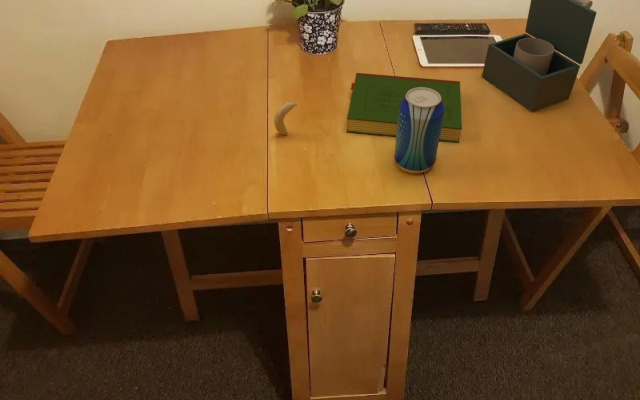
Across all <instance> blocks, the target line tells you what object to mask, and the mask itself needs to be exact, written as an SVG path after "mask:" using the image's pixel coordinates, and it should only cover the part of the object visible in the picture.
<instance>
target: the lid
mask: <svg viewBox="0 0 640 400" xmlns="http://www.w3.org/2000/svg"><path fill="white" fill-rule="evenodd" d="M593 4H594V3H593V1H592V0H530V4H529V9H528V14H527V20H526V26H525V30H524V33H526V34H528V35H529V36H531V37H533V38H537V39H542V40H544V41H547V42H549V43H550V44H552V45H553V46H554V50H555V51H556V52H558V53H560V54H561V55H563V56H565V57H566V58H568V59H570V60H571V61H573V62H575V63H576V64H578V65H582V64H583V63H584V59H585V56H586V52H587V49H588V45H589V41H590V38H591V34H592V30H593V27H594V23H595V19H596V16H597V13H598V12H597V11H595V10H593V9H591V8H592V6H593Z"/></svg>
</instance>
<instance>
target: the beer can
mask: <svg viewBox="0 0 640 400" xmlns="http://www.w3.org/2000/svg"><path fill="white" fill-rule="evenodd" d="M443 115H444V105H443V103H442V101H441V96H440V94H439V93H438V92H437V91H435V90H433V89H430V88H425V87H418V88H413V89H411V90H409V91H408V92H407V93H406V97H405V98H404V99H403V100H402V101H401V103H400V108H399V117H398V126H397V134H396V137H395V143H394V153H393V159H394V162H395V163H396V164H397V166H398V167H399V168H400V169H401V170H402V171H404V172H406V173H409V174H413V175H414V174H415V175H417V174H422V173H425V172H428V170H430V169H431V168H432V167H434V165H435V164H436V160H437V155H438V154H437V153H438V148H439V144H440V143H439V142H440V141H439V138H440V132H441V126H442V121H443Z"/></svg>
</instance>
